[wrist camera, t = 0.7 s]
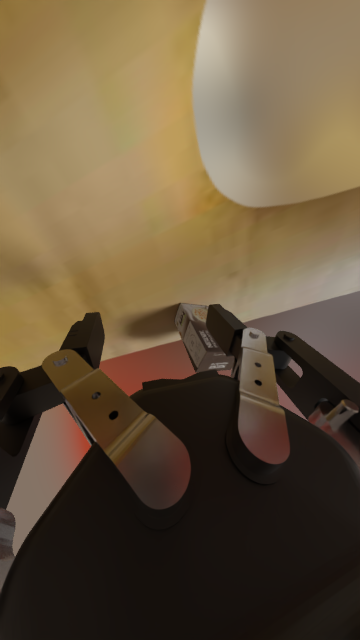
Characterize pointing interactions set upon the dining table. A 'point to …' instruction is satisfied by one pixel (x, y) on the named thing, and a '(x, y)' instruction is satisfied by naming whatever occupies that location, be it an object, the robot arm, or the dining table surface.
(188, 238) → the dining table surface
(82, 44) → the dining table surface
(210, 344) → the coffee box
